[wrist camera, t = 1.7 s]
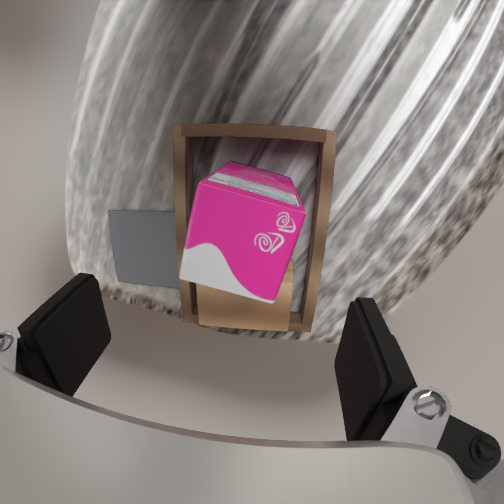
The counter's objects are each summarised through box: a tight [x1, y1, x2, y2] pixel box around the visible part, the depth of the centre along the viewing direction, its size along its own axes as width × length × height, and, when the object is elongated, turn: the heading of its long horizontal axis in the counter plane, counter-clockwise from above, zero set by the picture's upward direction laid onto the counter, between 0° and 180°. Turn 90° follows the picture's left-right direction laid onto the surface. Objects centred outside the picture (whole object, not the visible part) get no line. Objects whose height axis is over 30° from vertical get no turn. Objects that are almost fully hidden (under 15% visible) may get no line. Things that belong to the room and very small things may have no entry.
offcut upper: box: [196, 269, 293, 331], centre depth 26 cm, size 5×8×2 cm, turn 89°
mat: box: [108, 210, 180, 288], centre depth 28 cm, size 8×8×1 cm
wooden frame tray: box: [173, 124, 337, 332], centre depth 25 cm, size 19×13×3 cm
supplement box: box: [179, 161, 306, 304], centre depth 20 cm, size 6×6×12 cm
